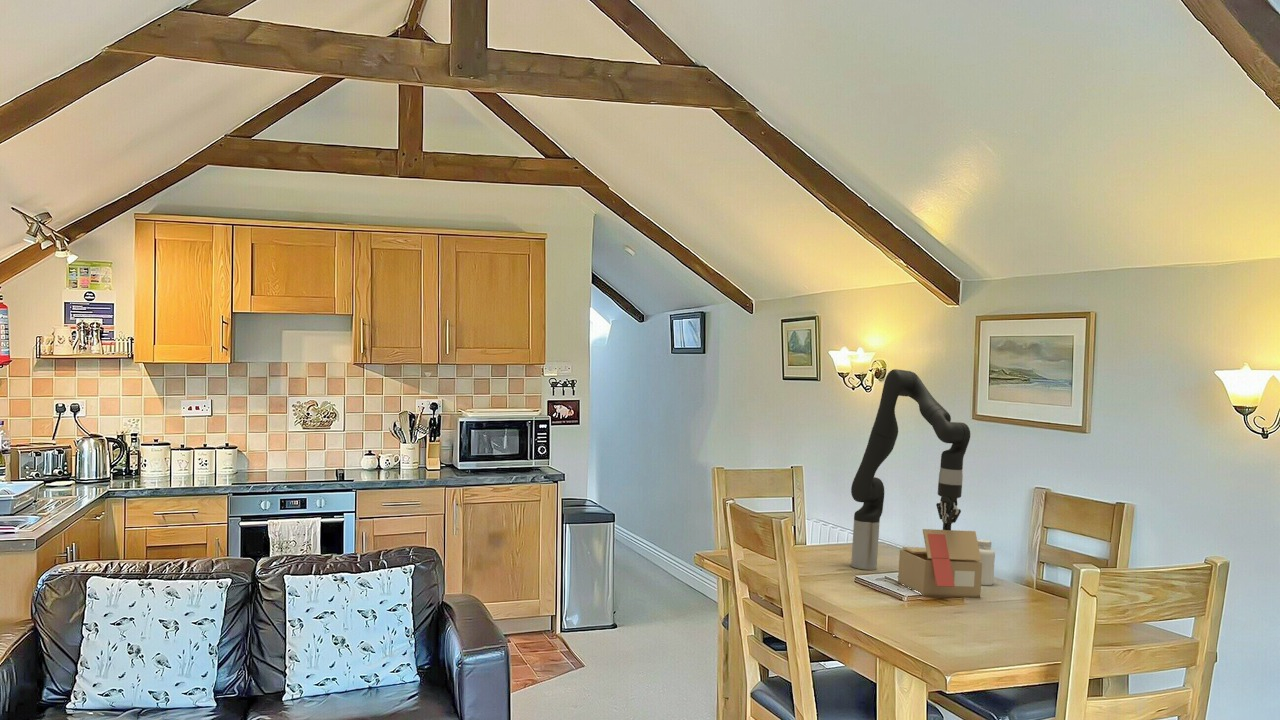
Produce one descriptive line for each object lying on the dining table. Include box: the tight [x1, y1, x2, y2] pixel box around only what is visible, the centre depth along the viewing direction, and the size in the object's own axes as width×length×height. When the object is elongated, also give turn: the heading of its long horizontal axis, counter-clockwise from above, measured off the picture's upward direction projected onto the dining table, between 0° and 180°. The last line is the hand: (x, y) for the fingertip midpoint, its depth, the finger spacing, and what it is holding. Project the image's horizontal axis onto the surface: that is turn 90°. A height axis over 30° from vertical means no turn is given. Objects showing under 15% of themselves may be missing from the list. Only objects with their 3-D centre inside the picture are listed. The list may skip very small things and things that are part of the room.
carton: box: [897, 546, 982, 599], centre depth 324 cm, size 19×20×12 cm
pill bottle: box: [977, 539, 996, 586], centre depth 342 cm, size 8×8×15 cm
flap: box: [922, 528, 981, 587], centre depth 315 cm, size 19×18×1 cm
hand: (946, 534), depth 322 cm, fingers closed
